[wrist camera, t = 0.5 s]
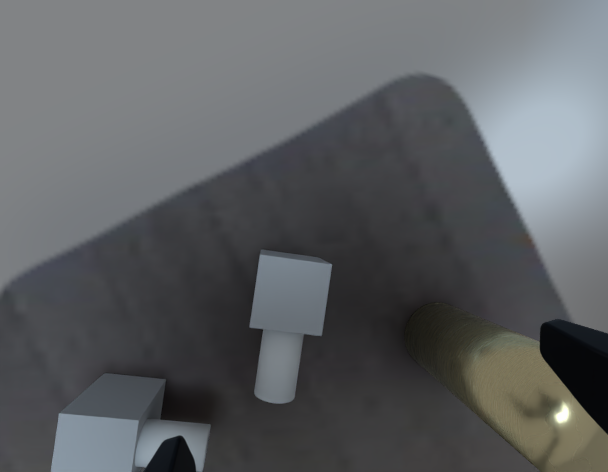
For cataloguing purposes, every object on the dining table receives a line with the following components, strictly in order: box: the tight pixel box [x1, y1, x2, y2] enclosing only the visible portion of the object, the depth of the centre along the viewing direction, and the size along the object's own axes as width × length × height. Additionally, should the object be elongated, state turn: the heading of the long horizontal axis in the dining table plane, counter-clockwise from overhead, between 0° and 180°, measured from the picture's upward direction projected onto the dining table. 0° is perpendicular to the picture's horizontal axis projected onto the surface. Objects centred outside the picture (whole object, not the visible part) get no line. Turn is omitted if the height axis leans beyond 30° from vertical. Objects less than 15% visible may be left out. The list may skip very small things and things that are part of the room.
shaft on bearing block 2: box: [249, 249, 332, 404], centre depth 23 cm, size 8×4×6 cm, turn 172°
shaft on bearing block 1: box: [51, 373, 211, 472], centre depth 23 cm, size 8×4×6 cm, turn 82°
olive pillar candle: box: [405, 302, 608, 472], centre depth 21 cm, size 5×5×12 cm
